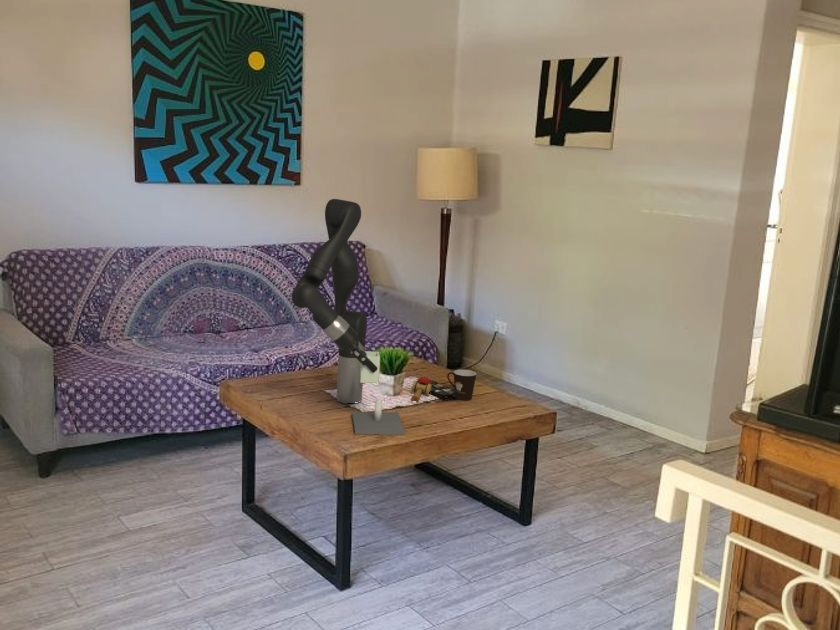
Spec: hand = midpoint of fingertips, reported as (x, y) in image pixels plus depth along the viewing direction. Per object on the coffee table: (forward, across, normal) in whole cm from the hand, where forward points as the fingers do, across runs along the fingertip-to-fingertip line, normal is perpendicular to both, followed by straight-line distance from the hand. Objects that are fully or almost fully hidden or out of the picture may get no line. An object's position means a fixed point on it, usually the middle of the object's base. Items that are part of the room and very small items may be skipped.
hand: (374, 367), depth 264 cm
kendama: (+29, +32, 0) cm, 44 cm away
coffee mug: (+40, +32, -11) cm, 53 cm away
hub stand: (+15, 0, +13) cm, 20 cm away
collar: (+2, 0, +4) cm, 5 cm away
